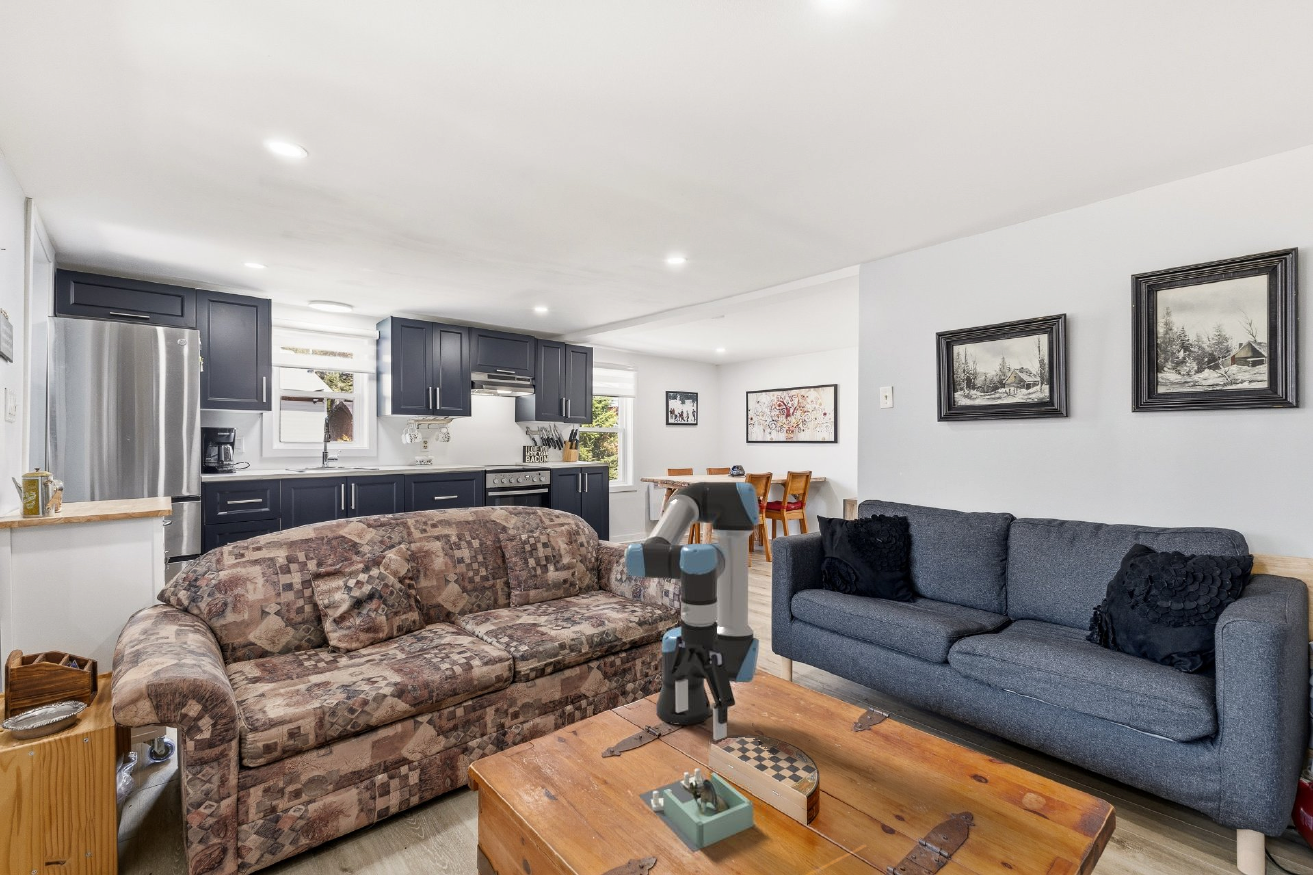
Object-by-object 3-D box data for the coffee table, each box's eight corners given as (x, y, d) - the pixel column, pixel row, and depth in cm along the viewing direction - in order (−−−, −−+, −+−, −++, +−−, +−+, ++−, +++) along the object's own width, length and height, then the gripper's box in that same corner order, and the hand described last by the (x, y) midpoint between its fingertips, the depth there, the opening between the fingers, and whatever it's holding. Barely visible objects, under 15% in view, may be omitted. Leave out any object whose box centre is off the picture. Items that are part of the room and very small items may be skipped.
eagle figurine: (678, 807, 125) (714, 816, 120) (685, 768, 129) (720, 775, 123) (699, 813, 130) (735, 822, 124) (705, 776, 133) (740, 783, 128)
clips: (696, 778, 138) (696, 765, 138) (713, 793, 133) (713, 779, 133) (641, 798, 131) (641, 784, 131) (657, 814, 125) (656, 800, 125)
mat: (695, 776, 140) (695, 774, 140) (755, 826, 122) (755, 824, 122) (638, 796, 132) (638, 794, 132) (692, 854, 114) (692, 851, 114)
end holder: (714, 792, 133) (714, 772, 133) (753, 825, 122) (753, 803, 122) (663, 812, 126) (663, 790, 126) (699, 849, 115) (699, 825, 115)
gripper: (652, 608, 134) (653, 704, 135) (721, 642, 113) (722, 756, 113) (681, 603, 138) (681, 696, 139) (752, 634, 117) (753, 745, 117)
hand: (700, 723), depth 126 cm, fingers open, 13 cm apart
